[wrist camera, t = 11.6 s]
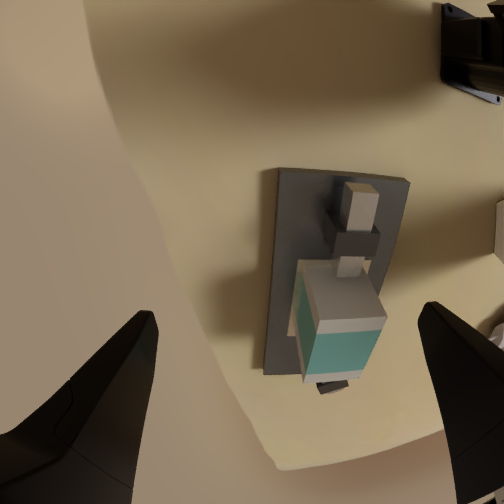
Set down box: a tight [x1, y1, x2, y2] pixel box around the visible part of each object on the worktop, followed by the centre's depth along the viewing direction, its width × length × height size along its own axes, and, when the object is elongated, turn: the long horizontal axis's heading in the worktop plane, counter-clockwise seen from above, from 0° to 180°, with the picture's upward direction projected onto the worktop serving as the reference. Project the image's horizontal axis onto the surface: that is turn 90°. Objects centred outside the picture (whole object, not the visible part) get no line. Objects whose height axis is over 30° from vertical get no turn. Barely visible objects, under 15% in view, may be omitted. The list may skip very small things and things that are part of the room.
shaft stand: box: [263, 168, 410, 395], centre depth 22 cm, size 9×20×4 cm, turn 178°
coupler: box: [295, 266, 387, 383], centre depth 21 cm, size 7×4×5 cm, turn 179°
